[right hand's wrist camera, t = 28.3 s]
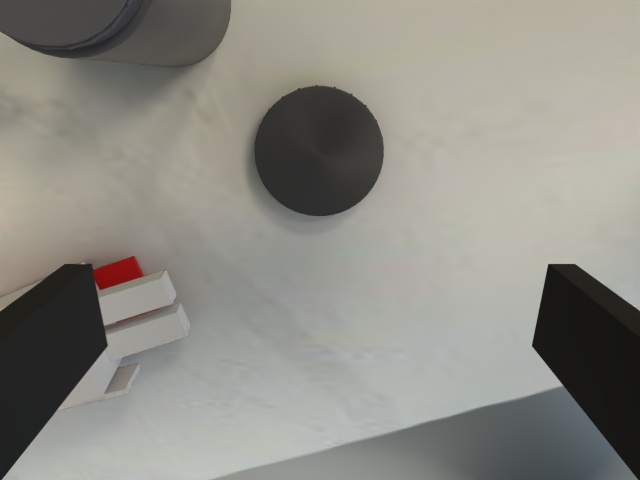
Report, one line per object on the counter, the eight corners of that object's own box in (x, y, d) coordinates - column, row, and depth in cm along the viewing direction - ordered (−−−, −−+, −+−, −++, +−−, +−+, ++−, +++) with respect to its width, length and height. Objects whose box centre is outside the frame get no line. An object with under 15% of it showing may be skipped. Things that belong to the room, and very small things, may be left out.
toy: (191, 389, 38) (-151, 501, 37) (208, 316, 50) (-46, 398, 49) (132, 266, 34) (-254, 388, 33) (167, 221, 46) (-110, 307, 45)
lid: (386, 87, 38) (390, 87, 36) (376, 212, 42) (379, 218, 40) (255, 83, 38) (252, 83, 36) (258, 209, 42) (255, 215, 40)
